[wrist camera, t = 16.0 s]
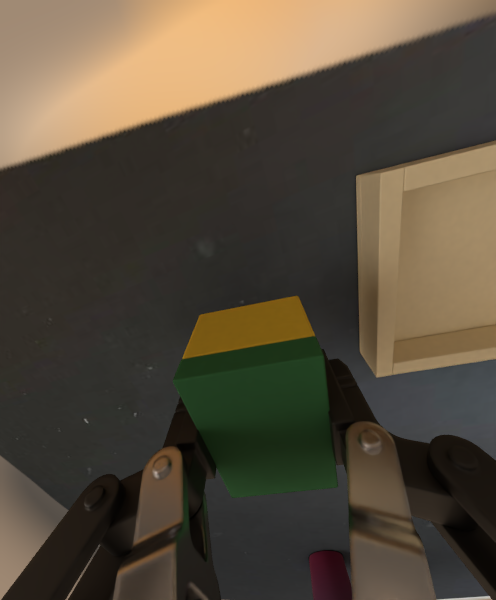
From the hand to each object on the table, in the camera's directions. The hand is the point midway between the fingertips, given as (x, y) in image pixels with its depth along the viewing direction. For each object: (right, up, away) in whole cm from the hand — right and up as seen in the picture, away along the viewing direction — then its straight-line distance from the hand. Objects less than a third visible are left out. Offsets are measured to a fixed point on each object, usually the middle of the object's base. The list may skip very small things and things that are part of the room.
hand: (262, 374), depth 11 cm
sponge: (0, 0, +1) cm, 1 cm away
